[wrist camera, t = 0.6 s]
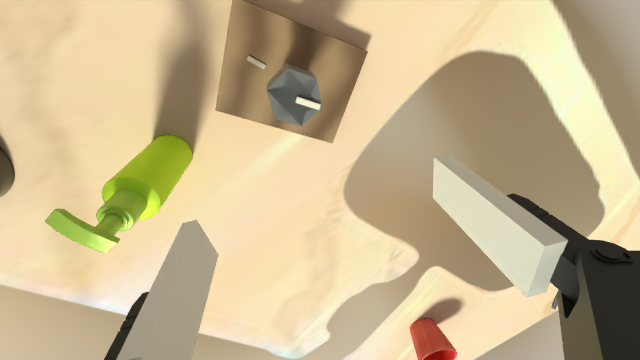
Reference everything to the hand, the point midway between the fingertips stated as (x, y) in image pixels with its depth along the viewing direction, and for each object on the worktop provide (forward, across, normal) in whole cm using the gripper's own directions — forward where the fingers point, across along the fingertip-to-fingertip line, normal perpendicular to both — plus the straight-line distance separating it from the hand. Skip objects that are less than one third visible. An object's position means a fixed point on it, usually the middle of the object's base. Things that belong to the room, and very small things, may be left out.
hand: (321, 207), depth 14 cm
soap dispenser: (+29, -21, -4) cm, 36 cm away
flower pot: (+29, +20, -76) cm, 84 cm away
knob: (+20, 0, +2) cm, 20 cm away
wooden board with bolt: (+29, 0, +2) cm, 29 cm away
